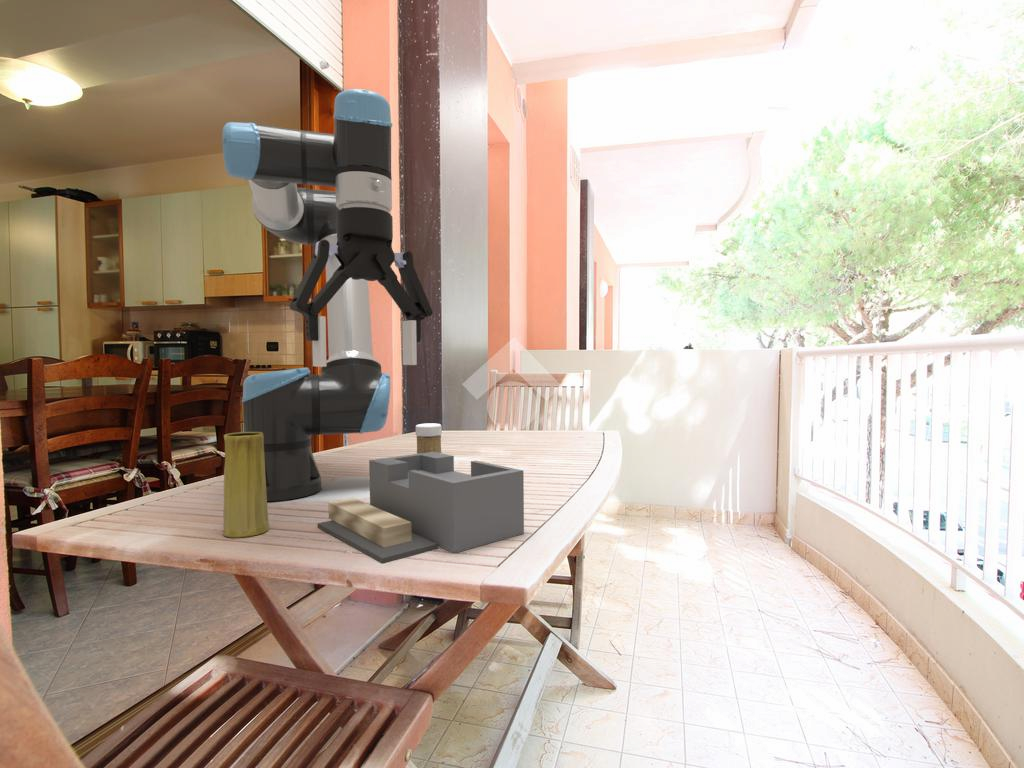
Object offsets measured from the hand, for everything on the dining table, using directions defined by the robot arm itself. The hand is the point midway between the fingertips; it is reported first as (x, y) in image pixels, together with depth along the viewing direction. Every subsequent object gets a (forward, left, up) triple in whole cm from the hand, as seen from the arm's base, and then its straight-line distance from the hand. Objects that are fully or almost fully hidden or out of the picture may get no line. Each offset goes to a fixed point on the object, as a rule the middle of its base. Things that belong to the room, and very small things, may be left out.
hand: (367, 365), depth 78 cm
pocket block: (+3, +10, -24) cm, 26 cm away
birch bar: (-1, 0, -23) cm, 23 cm away
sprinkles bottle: (-12, +17, -24) cm, 32 cm away
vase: (-14, -13, -24) cm, 30 cm away
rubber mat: (+1, 0, -24) cm, 24 cm away
